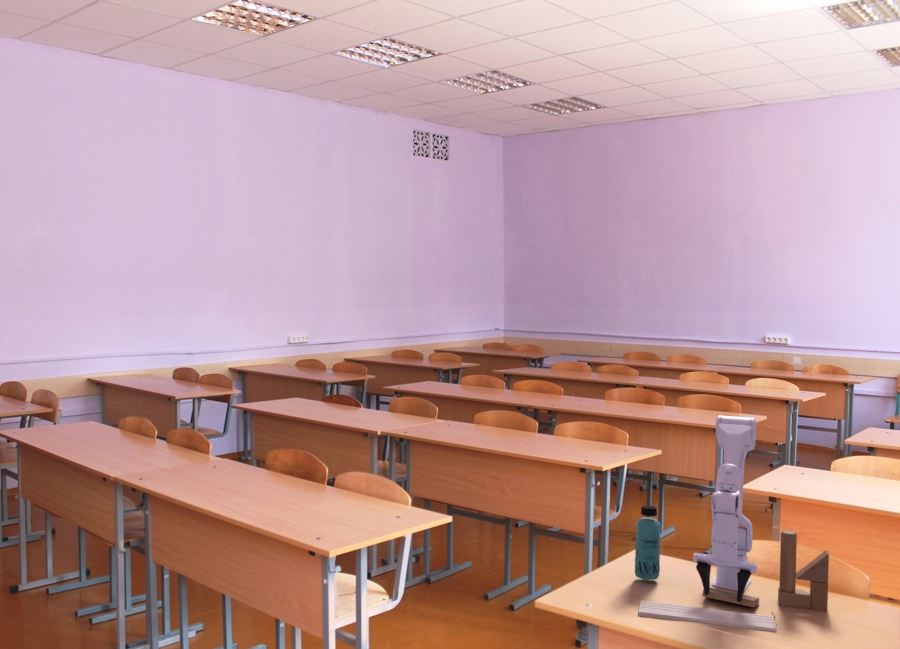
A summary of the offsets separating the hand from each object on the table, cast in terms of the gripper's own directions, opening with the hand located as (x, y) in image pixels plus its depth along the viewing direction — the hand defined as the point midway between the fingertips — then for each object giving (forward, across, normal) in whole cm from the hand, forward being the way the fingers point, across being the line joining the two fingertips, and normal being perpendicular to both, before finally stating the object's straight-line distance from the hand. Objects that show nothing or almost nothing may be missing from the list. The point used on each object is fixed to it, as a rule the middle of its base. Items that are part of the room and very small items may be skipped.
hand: (723, 597), depth 189 cm
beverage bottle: (+2, -21, +7) cm, 22 cm away
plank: (+1, +1, +4) cm, 4 cm away
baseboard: (+4, -2, -7) cm, 9 cm away
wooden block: (+2, +16, +12) cm, 20 cm away
